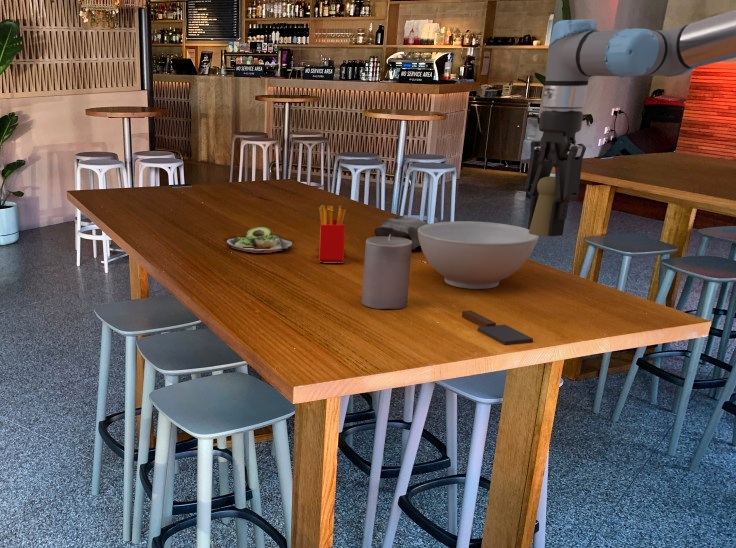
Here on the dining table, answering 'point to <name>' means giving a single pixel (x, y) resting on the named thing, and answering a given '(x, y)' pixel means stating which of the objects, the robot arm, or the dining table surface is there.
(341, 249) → the french fries container
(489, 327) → the spatula
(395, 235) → the rock
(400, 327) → the dining table surface
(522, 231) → the decorative bowl
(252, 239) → the salad plate
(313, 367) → the dining table surface
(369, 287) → the pillar candle
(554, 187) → the pepper mill
